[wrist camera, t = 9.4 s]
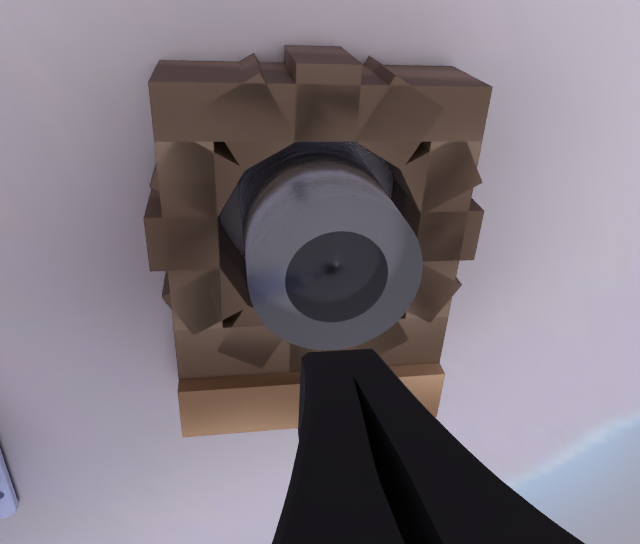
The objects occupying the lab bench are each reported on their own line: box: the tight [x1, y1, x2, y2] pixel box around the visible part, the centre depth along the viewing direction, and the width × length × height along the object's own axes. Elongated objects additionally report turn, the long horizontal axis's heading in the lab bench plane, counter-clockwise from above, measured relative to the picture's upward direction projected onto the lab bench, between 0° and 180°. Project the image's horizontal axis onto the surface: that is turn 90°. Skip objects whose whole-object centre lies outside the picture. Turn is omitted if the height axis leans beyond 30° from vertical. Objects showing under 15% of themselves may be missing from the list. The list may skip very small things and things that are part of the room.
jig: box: [144, 45, 492, 437], centre depth 18 cm, size 12×10×4 cm
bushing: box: [239, 142, 423, 350], centre depth 16 cm, size 4×4×6 cm
